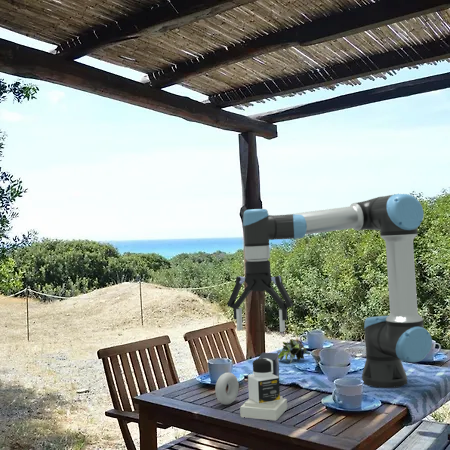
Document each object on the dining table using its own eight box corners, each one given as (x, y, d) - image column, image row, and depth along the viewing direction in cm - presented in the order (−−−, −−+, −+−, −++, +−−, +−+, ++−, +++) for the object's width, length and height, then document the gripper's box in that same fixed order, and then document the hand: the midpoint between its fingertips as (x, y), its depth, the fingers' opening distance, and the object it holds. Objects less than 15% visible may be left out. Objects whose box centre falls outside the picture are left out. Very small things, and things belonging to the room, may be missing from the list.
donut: (233, 399, 179) (232, 368, 179) (241, 400, 176) (240, 369, 177) (213, 407, 171) (212, 375, 171) (222, 409, 169) (220, 377, 169)
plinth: (287, 408, 167) (286, 395, 167) (276, 420, 156) (275, 406, 157) (253, 405, 171) (252, 392, 171) (240, 417, 161) (240, 403, 161)
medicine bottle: (259, 404, 159) (257, 363, 159) (248, 398, 166) (246, 358, 166) (280, 400, 162) (278, 360, 162) (269, 394, 168) (267, 355, 169)
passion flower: (299, 372, 229) (314, 349, 228) (290, 374, 220) (306, 350, 218) (278, 355, 234) (294, 333, 233) (269, 356, 225) (285, 333, 224)
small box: (277, 389, 188) (275, 359, 188) (258, 389, 189) (257, 358, 189) (280, 381, 198) (278, 352, 198) (262, 381, 199) (261, 352, 200)
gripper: (301, 258, 163) (304, 329, 163) (224, 260, 173) (227, 327, 173) (294, 259, 156) (297, 334, 156) (214, 261, 166) (218, 331, 166)
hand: (260, 330), depth 164 cm, fingers open, 13 cm apart
